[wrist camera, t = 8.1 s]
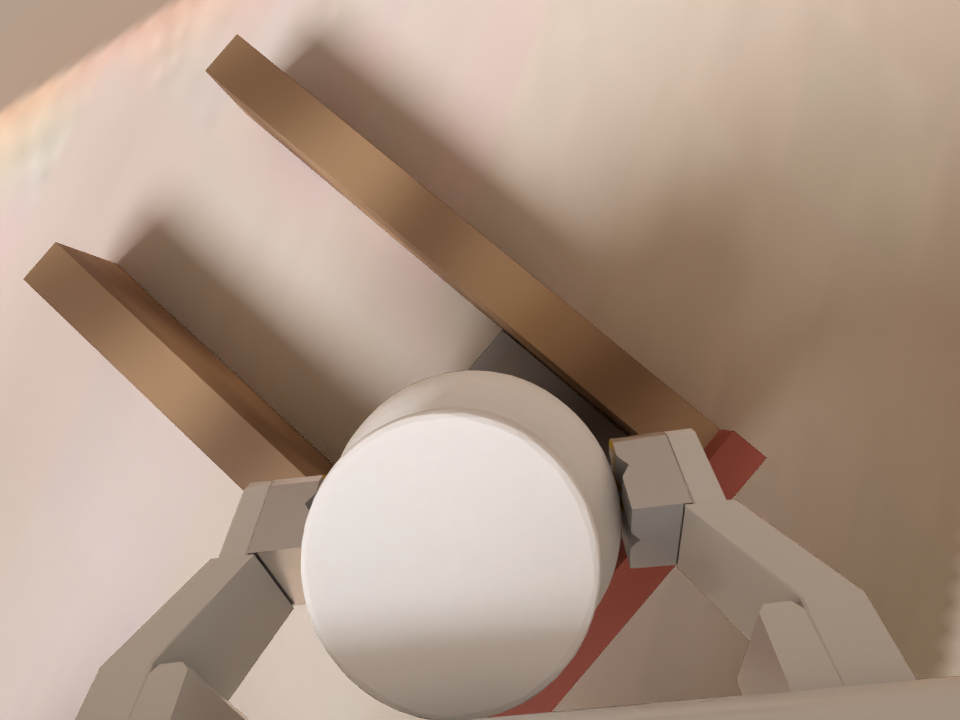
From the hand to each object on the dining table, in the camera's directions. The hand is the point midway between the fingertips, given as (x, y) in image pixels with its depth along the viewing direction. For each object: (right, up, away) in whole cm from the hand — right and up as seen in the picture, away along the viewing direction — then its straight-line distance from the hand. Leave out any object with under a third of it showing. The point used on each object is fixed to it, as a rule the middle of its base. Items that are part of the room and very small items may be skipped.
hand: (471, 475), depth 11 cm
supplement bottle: (+1, -1, +6) cm, 6 cm away
